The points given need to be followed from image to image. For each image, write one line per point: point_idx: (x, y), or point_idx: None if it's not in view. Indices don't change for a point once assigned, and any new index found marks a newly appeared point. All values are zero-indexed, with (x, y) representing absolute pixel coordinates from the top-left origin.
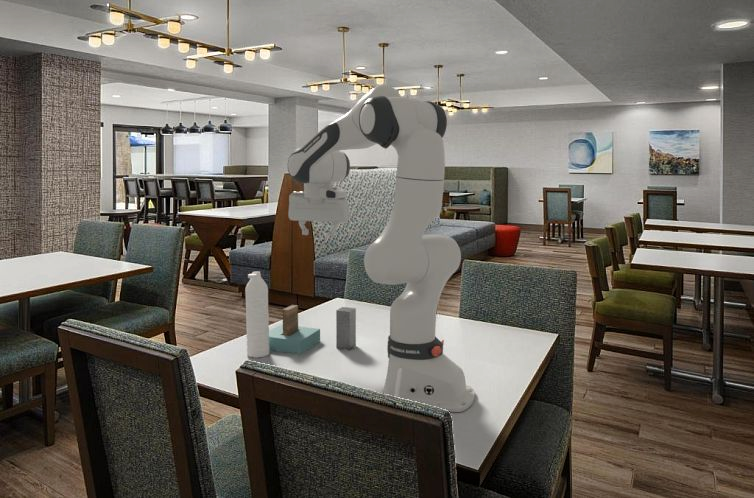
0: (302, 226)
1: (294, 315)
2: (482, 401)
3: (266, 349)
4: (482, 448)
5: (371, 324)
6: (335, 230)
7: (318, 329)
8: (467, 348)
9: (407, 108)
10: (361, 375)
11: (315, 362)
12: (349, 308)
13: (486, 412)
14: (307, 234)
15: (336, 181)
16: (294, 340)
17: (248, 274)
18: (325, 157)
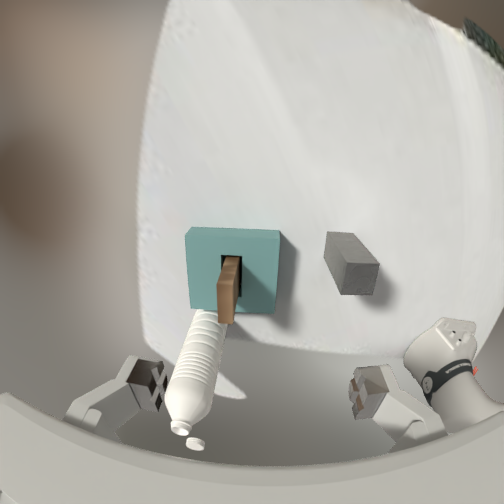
0: (121, 421)
1: (234, 290)
2: (474, 337)
3: (226, 329)
4: None
5: (340, 87)
6: (402, 392)
7: (278, 242)
8: (494, 196)
9: None
10: (380, 335)
11: (311, 321)
12: (366, 269)
13: None
14: (162, 369)
15: None
16: (262, 312)
17: (188, 447)
18: None
